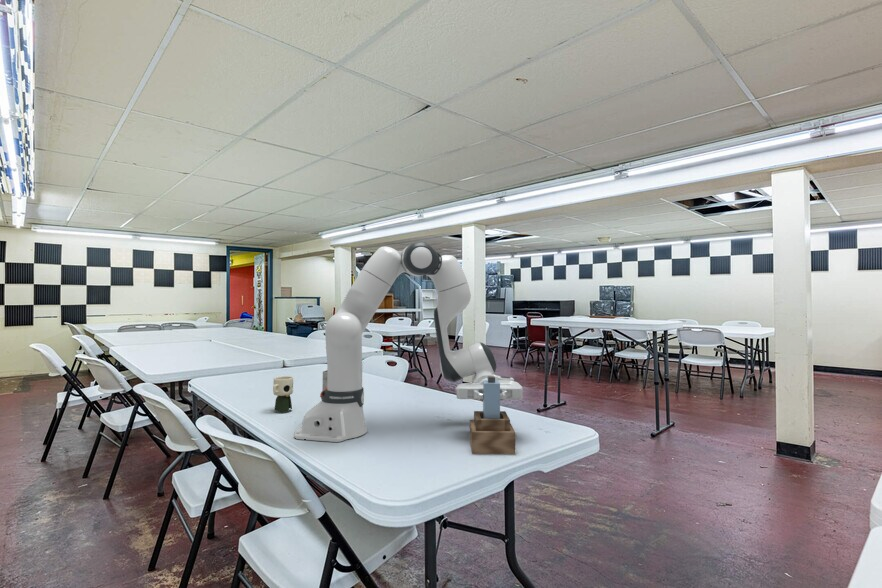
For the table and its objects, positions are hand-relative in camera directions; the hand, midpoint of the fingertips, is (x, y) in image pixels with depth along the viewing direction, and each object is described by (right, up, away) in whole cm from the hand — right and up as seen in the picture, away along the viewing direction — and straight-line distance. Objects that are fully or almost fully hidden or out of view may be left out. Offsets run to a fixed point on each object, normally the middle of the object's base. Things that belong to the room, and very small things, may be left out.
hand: (491, 397), depth 119 cm
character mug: (-75, -15, +39) cm, 86 cm away
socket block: (0, -15, +1) cm, 15 cm away
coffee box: (-55, -15, +38) cm, 69 cm away
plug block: (0, -8, +1) cm, 8 cm away
